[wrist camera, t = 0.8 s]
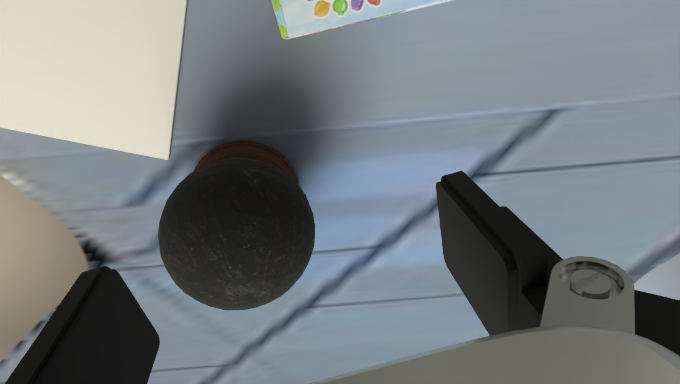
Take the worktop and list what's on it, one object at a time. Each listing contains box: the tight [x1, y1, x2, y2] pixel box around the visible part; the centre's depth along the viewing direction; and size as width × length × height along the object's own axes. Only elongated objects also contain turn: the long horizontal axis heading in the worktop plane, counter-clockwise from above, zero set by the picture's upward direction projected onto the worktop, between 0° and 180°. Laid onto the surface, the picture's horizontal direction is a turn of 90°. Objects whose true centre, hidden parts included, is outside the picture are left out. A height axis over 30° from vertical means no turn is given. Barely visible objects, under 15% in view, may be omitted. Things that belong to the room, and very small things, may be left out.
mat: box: [0, 0, 187, 160], centre depth 33 cm, size 16×16×1 cm
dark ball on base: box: [158, 141, 315, 310], centre depth 35 cm, size 13×13×15 cm
